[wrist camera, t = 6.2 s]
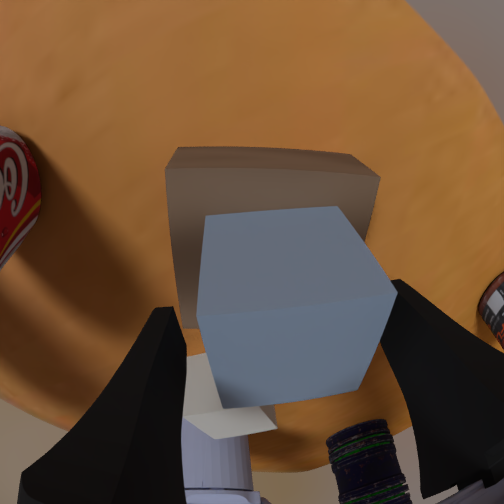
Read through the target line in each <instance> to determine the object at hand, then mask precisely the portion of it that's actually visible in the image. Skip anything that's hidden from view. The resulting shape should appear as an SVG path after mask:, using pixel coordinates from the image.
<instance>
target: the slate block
mask: <svg viewBox="0 0 504 504" xmlns="http://www.w3.org/2000/svg"><path fill="white" fill-rule="evenodd" d="M397 293H398V292H397V291H396V289H395V288H394V286H393V284H392V283H391V281H390V280H389V278H388V277H387V275H386V274H385V272H384V271H383V269H382V268H381V266H380V265H379V263H378V262H377V260H376V259H375V257H374V256H373V254H372V253H371V251H370V250H369V249H368V247H367V246H366V244H365V243H364V241H363V240H362V239H361V237H360V236H359V234H358V233H357V232H356V230H355V229H354V228H353V226H352V225H351V223H350V222H349V221H348V219H347V218H346V217H345V215H344V214H343V213H342V211H341V210H340V209H339V207H338V206H328V207H311V208H295V209H280V210H267V211H254V212H242V213H230V214H219V215H209V216H206V217H205V226H204V235H203V245H202V255H201V265H200V276H199V288H198V300H197V314H196V317H197V321H198V325H199V328H200V332H201V336H202V339H203V343H204V347H205V350H206V354H207V357H208V361H209V364H210V368H211V371H212V375H213V378H214V381H215V385H216V388H217V391H218V394H219V398H220V401H221V404H222V407H223V409H228V408H243V407H254V406H264V405H273V404H281V403H289V402H296V401H302V400H309V399H314V398H320V397H326V396H331V395H336V394H341V393H346V392H350V391H355V390H358V388H359V386H360V384H361V382H362V380H363V377H364V375H365V373H366V371H367V369H368V367H369V364H370V362H371V360H372V358H373V355H374V353H375V351H376V348H377V346H378V343H379V341H380V339H381V336H382V334H383V331H384V329H385V326H386V323H387V321H388V318H389V315H390V313H391V310H392V307H393V304H394V301H395V299H396V296H397Z"/></svg>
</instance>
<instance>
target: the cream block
mask: <svg viewBox="0 0 504 504" xmlns="http://www.w3.org/2000/svg"><path fill="white" fill-rule="evenodd" d="M183 417H184V418H185V419H186V420H188V421H189V422H190V423H192V424H193V425H194V426H196V427H197V428H199V429H200V430H201V431H203V432H204V433H206V434H207V435H209V436H210V437H212V438H213V439H222V438H229V437H235V436H241V435H247V434H253V433H258V432H263V431H268V430H273V429H277V428H278V427H277V421H276V414H275V408H274V404H273V405H264V406H254V407H243V408H228V409H223V407H222V404H221V401H220V398H219V394H218V391H217V388H216V385H215V381H214V378H213V375H212V371H211V368H210V364H209V361H208V357H207V354H206V353H203V354H199V355H194V356H190V357H187V376H186V386H185V396H184V407H183Z"/></svg>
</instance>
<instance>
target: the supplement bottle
mask: <svg viewBox="0 0 504 504" xmlns="http://www.w3.org/2000/svg"><path fill="white" fill-rule="evenodd" d="M479 313H480V315H481V316H482V318H483V320H484V321H485V323H486V324H487V325H488V327H489V328H490V330H491V331H492V333H493V334H494V336H495V337H496V339H497V340H498V342H499V343H500V345H501V346H502V348H503V349H504V273H502V274H501V275H499V276H498V277H497V278H496V279H495V280H494V281H493V282H492V283H491V284H490V286H489V287H488V288H487V290H486V291H485V293H484V295H483V297H482V299H481V301H480V305H479Z"/></svg>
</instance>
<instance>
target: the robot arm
mask: <svg viewBox="0 0 504 504" xmlns="http://www.w3.org/2000/svg"><path fill="white" fill-rule="evenodd" d="M391 283H392V284H393V286H394V288H395V289H396V291H397V292H398V293H397V296H396V299H395V301H394V304H393V307H392V310H391V313H390V315H389V318H388V321H387V323H386V326H385V329H384V331H383V334H382V336H381V339H380V343H381V346H382V348H383V350H384V352H385V355H386V357H387V359H388V361H389V364H390V366H391V368H392V370H393V372H394V374H395V377H396V379H397V381H398V383H399V386H400V388H401V390H402V393H403V395H404V398H405V401H406V403H407V407H408V410H409V414H410V418H411V422H412V426H413V430H414V435H415V440H416V445H417V451H418V459H419V469H420V490H421V494H422V497H423V499H426V498H428V497H431V496H433V495H436V494H438V493H441V492H443V491H445V490H448V489H450V488H452V487H454V486H455V485H457V487H458V490H459V491H458V492H457V493H455V494H453V495H451V496H450V497H448V498H446V499H444V500H442V501H440V502H439V503H437V504H504V353H502V352H500V351H499V350H497V349H495V348H493V347H492V346H490V345H489V344H487V343H485V342H484V341H482V340H481V339H479V338H478V337H476V336H475V335H473V334H472V333H470V332H469V331H468V330H466V329H465V328H463V327H462V326H461V325H459V324H458V323H457V322H455V321H454V320H453V319H451V318H450V317H449V316H447V315H446V314H445V313H444V312H442V311H441V310H440V309H439V308H437V307H436V306H435V305H434V304H432V303H431V302H430V301H428V300H427V299H426V298H425V297H423V296H422V295H421V294H420V293H418V292H417V291H416V290H414V289H413V288H412V287H411V286H409V285H408V284H406V283H405V282H404V281H402V280H401V279H397V280H391ZM186 376H187V345H186V343H185V340H184V337H183V334H182V331H181V329H180V326H179V323H178V320H177V317H176V314H175V311H174V308H173V306H172V307H157V308H155V309H154V310H153V311H152V313H151V315H150V317H149V318H148V320H147V322H146V324H145V325H144V327H143V329H142V331H141V332H140V334H139V336H138V337H137V339H136V341H135V343H134V344H133V346H132V347H131V349H130V351H129V352H128V354H127V356H126V357H125V359H124V360H123V362H122V364H121V365H120V367H119V368H118V370H117V371H116V373H115V374H114V376H113V377H112V379H111V380H110V382H109V383H108V384H107V386H106V387H105V389H104V390H103V391H102V393H101V394H100V395H99V397H98V398H97V399H96V401H95V402H94V403H93V404H92V406H91V407H90V408H89V409H88V411H87V412H86V413H85V414H84V415H83V416H82V418H81V419H80V420H79V421H78V422H77V423H76V424H75V426H74V427H73V428H72V429H71V430H70V431H69V432H68V433H67V434H66V435H65V436H64V437H63V438H62V439H61V440H60V441H59V442H58V443H57V444H55V445H54V446H53V447H52V448H51V449H50V450H49V451H48V452H47V453H46V454H45V455H43V456H42V457H41V458H40V459H38V460H37V461H36V462H35V463H33V464H32V465H31V466H30V467H28V468H27V469H25V470H24V471H23V472H22V474H21V479H20V485H19V493H18V501H17V504H271V503H270V502H269V501H268V500H267V499H266V498H264V497H260V492H259V491H254V490H253V482H252V471H251V462H250V452H249V442H248V434H247V435H241V436H235V437H229V438H222V439H213V438H212V437H210V436H209V435H207V434H206V433H204V432H203V431H201V430H200V429H199V428H197V427H196V426H194V425H193V424H192V423H190V422H189V421H188V420H186V419H185V418H184V417H183V407H184V396H185V386H186Z"/></svg>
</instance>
